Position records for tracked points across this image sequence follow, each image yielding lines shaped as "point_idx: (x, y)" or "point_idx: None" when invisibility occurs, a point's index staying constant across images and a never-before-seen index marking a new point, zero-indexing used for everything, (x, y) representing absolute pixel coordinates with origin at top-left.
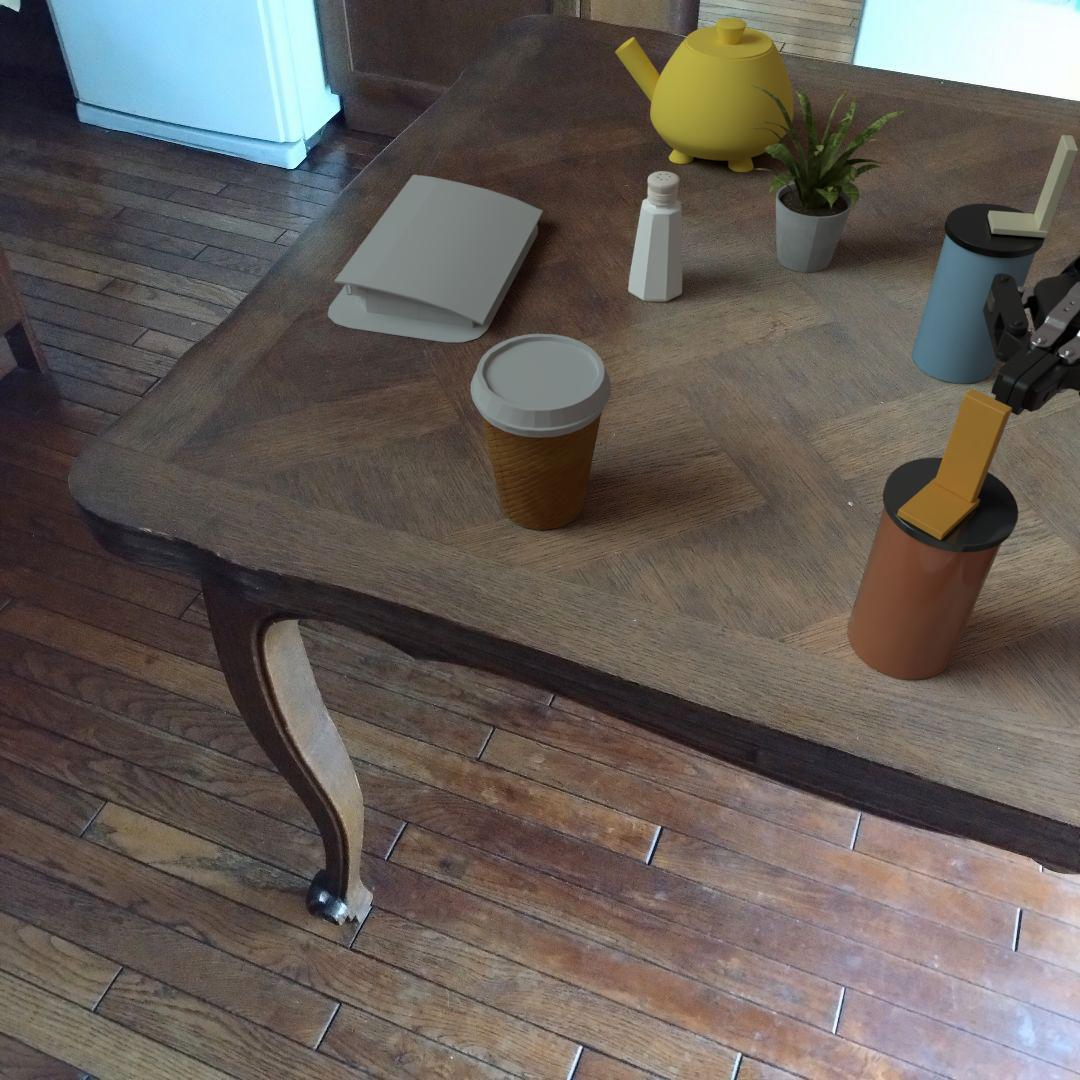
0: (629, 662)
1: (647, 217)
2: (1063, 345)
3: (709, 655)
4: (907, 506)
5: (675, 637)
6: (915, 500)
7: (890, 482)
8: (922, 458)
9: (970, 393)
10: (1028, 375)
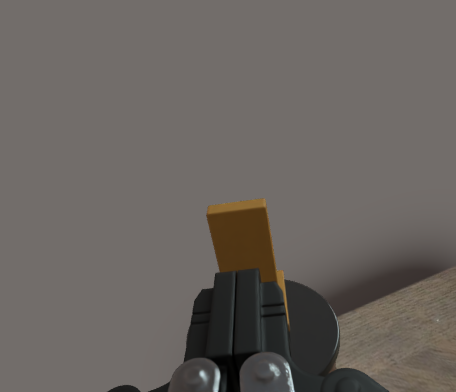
0: (399, 298)
1: None
2: (216, 388)
3: (374, 337)
4: (279, 276)
5: (405, 331)
6: (279, 285)
7: (323, 303)
8: (332, 356)
9: (260, 200)
10: (227, 283)
